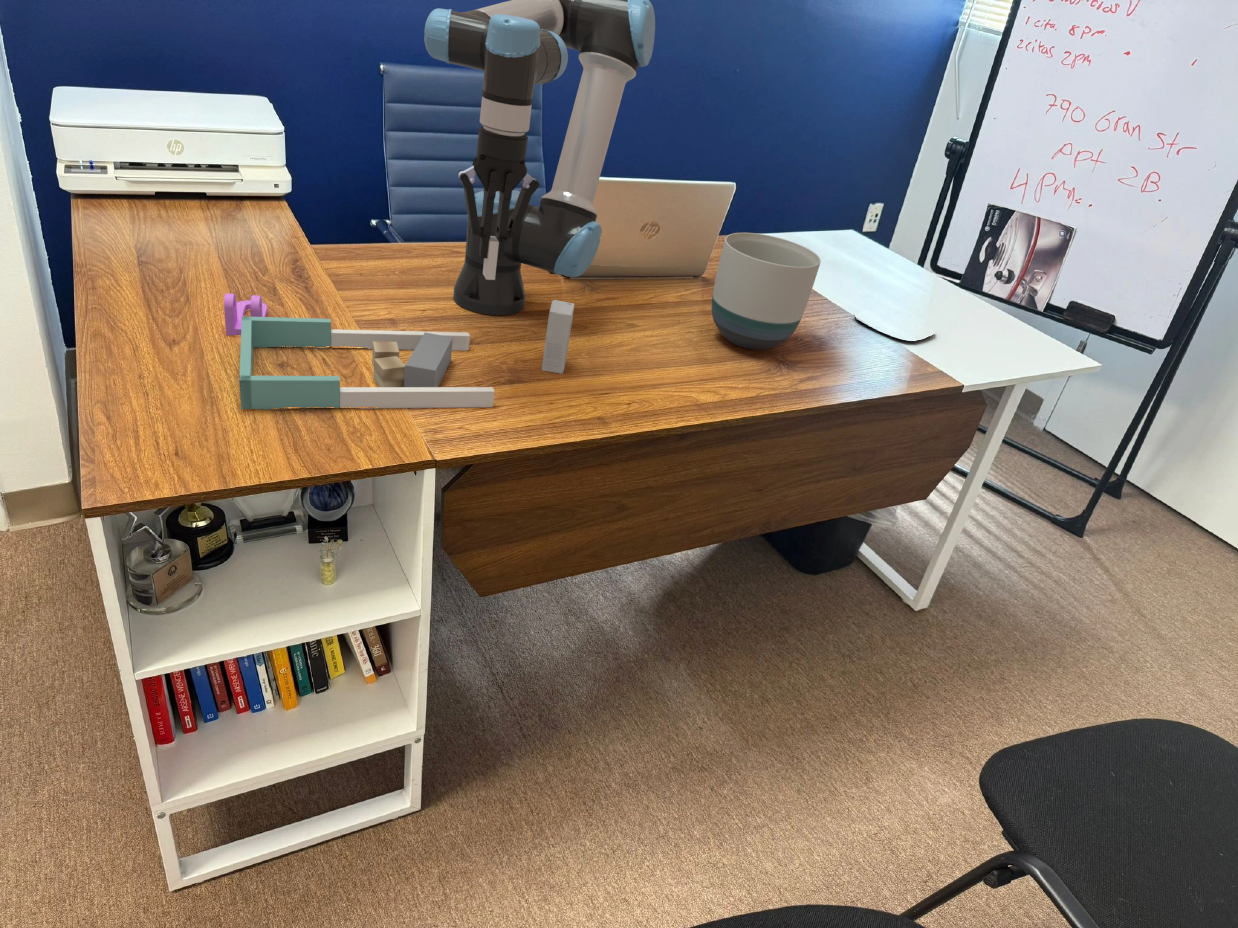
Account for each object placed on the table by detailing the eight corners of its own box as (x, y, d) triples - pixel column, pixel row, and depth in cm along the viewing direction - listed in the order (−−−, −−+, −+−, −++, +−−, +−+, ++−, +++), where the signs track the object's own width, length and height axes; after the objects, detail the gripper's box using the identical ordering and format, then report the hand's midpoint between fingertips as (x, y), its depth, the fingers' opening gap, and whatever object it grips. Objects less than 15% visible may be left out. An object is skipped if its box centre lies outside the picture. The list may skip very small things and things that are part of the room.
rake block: (450, 362, 154) (452, 337, 151) (433, 397, 142) (435, 370, 139) (423, 357, 154) (424, 332, 151) (403, 392, 142) (405, 365, 139)
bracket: (260, 338, 149) (258, 300, 145) (226, 335, 147) (223, 298, 143) (269, 308, 159) (267, 273, 155) (236, 306, 157) (234, 270, 154)
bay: (330, 344, 151) (330, 318, 148) (339, 408, 133) (339, 380, 130) (243, 343, 145) (241, 316, 143) (241, 409, 128) (239, 380, 125)
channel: (467, 347, 160) (468, 332, 158) (492, 407, 142) (494, 391, 140) (330, 344, 151) (330, 329, 149) (340, 408, 133) (340, 391, 131)
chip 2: (395, 377, 145) (396, 356, 143) (405, 387, 143) (406, 366, 140) (373, 379, 143) (374, 358, 141) (382, 390, 140) (383, 369, 138)
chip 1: (395, 362, 150) (396, 342, 148) (398, 373, 147) (399, 352, 144) (372, 362, 148) (372, 341, 146) (374, 372, 145) (375, 351, 143)
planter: (739, 318, 199) (763, 229, 188) (809, 353, 188) (839, 261, 177) (682, 331, 185) (705, 236, 174) (754, 371, 174) (783, 272, 163)
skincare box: (544, 357, 162) (552, 298, 156) (566, 361, 162) (575, 303, 156) (540, 370, 157) (549, 311, 151) (563, 374, 157) (572, 315, 151)
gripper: (538, 128, 134) (521, 270, 146) (457, 119, 129) (445, 266, 142) (551, 140, 128) (531, 287, 141) (466, 130, 124) (453, 283, 136)
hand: (488, 276), depth 141 cm, fingers closed
